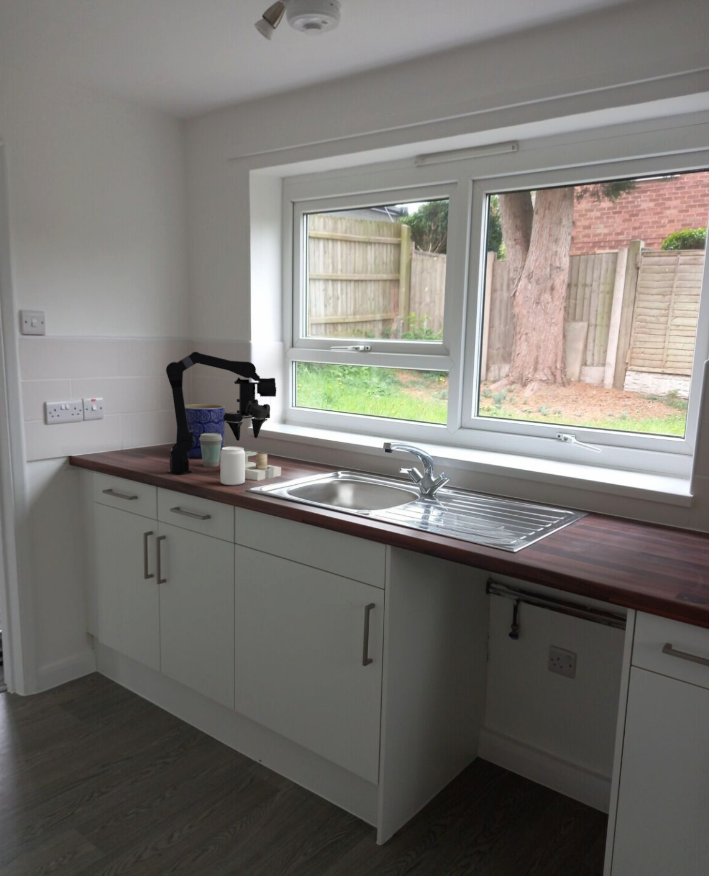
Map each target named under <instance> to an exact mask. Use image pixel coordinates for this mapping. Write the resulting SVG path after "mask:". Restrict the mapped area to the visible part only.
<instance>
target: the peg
mask: <svg viewBox="0 0 709 876" xmlns="http://www.w3.org/2000/svg"><path fill="white" fill-rule="evenodd" d="M255 463H256V469H259V470H264V469H267V465H268V454H267V453H265V452H264V453H262V452H261V453H259V452H258V454H256V455H255Z"/></svg>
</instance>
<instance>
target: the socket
mask: <svg viewBox="0 0 709 876" xmlns="http://www.w3.org/2000/svg"><path fill="white" fill-rule="evenodd" d="M280 476H282V467H281V466H276V465H270V464H267V469H264V470H259V469H256V462H252V461H248V462H245V479H248V480H253V481H256V482H257V481H262V480H269V479H274V478H276V477H280Z"/></svg>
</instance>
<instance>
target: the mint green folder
mask: <svg viewBox="0 0 709 876" xmlns="http://www.w3.org/2000/svg"><path fill="white" fill-rule="evenodd" d="M244 451H245V462H249V457H252V456H253V457H254V456H256V454H259V452H255V451H250V450H244Z"/></svg>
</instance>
